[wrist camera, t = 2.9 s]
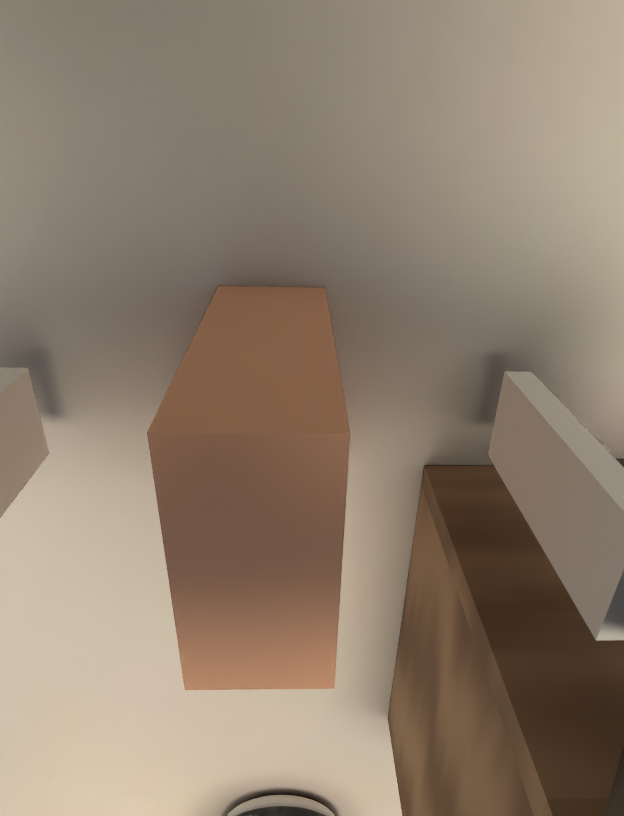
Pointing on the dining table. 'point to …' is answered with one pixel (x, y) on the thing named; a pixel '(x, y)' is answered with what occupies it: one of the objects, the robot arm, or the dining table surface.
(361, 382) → the dining table surface
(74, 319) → the dining table surface
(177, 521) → the salmon orange block
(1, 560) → the dining table surface
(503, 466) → the robot arm
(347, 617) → the dining table surface
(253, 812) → the pill bottle
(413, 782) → the coin box
